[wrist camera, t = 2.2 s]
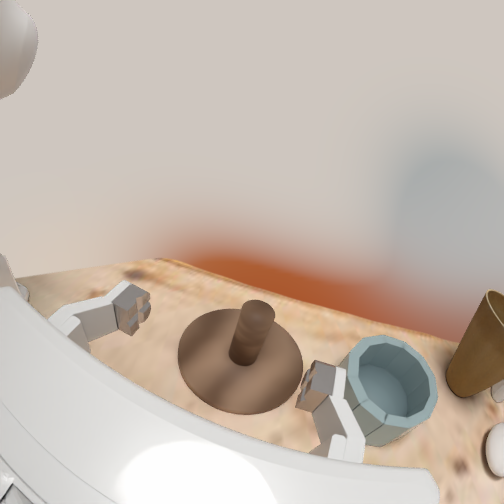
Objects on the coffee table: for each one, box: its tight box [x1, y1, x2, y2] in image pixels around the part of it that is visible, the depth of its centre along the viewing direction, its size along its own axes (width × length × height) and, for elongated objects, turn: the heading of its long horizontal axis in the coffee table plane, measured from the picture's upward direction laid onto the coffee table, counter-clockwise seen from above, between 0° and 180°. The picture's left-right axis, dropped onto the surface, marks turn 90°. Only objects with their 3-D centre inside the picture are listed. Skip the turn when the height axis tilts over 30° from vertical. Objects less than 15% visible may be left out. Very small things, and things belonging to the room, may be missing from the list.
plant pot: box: [446, 289, 504, 398], centre depth 30 cm, size 15×15×16 cm
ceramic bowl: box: [338, 335, 438, 447], centre depth 29 cm, size 14×14×6 cm
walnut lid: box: [178, 300, 303, 415], centre depth 31 cm, size 16×16×9 cm
